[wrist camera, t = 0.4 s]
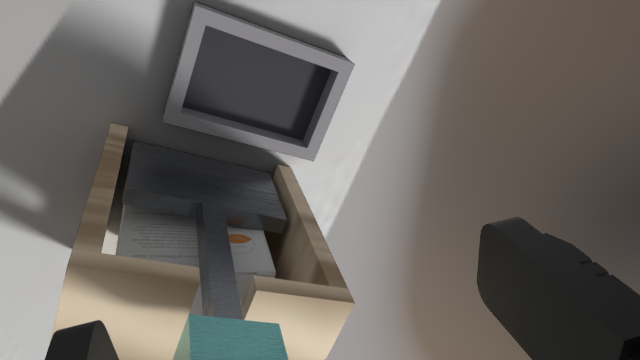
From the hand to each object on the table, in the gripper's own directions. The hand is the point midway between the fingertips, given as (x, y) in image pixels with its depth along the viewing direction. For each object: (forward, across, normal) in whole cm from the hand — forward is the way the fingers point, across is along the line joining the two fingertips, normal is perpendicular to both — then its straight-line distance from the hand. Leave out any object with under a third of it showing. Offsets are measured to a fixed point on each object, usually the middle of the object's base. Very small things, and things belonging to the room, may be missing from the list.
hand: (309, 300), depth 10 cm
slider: (+22, +2, +6) cm, 23 cm away
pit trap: (+22, -2, +1) cm, 22 cm away
